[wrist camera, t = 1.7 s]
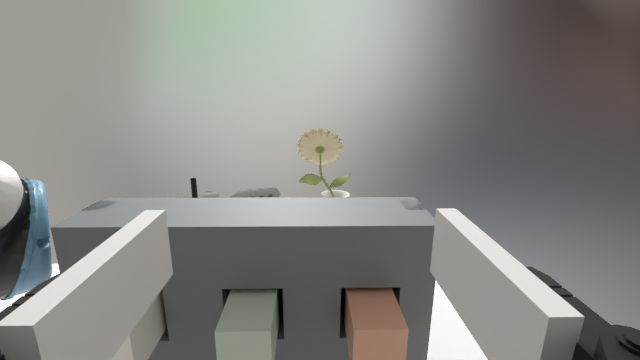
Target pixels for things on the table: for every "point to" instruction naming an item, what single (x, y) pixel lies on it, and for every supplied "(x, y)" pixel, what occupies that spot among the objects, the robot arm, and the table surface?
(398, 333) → the terracotta key
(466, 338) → the table surface
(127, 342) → the cream key
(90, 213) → the keypad panel
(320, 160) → the flower in vase
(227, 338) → the sage key
